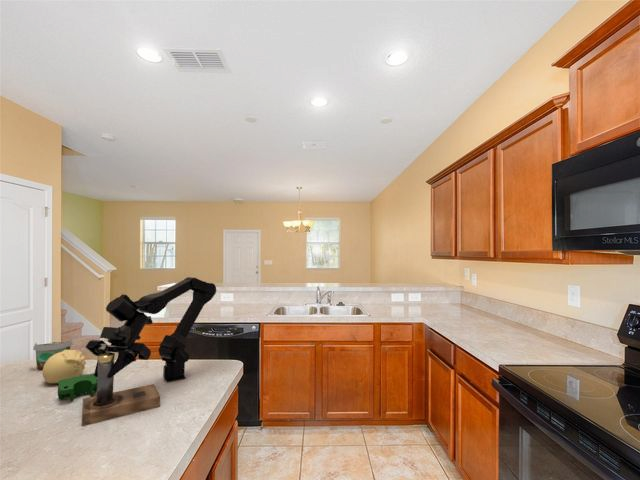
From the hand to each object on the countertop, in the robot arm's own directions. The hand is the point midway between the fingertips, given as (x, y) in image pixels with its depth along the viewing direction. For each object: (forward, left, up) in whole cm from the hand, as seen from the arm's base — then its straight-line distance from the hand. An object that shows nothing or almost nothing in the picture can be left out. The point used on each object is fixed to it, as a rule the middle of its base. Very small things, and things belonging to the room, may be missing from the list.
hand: (101, 377), depth 90 cm
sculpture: (+10, -35, -11) cm, 38 cm away
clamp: (+5, -17, -11) cm, 21 cm away
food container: (+15, -52, -11) cm, 55 cm away
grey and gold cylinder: (-1, -1, -7) cm, 7 cm away
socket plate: (-5, -1, -11) cm, 12 cm away
